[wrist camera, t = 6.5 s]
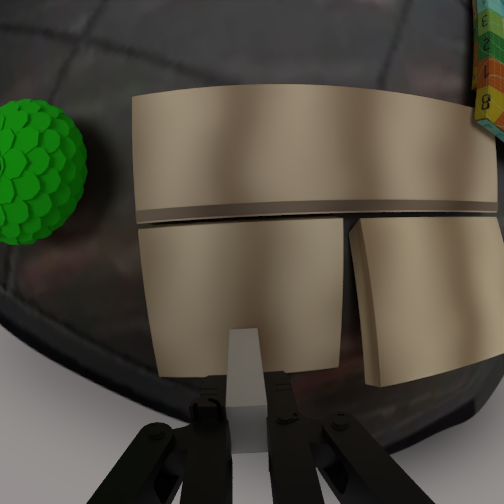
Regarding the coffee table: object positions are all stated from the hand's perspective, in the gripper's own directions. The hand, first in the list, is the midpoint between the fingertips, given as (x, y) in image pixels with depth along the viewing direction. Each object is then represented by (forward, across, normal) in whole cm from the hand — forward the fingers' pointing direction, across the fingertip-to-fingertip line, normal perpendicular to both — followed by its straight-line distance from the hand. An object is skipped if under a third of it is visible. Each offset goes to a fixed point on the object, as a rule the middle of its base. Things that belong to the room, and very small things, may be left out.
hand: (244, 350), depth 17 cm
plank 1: (+3, 0, +2) cm, 4 cm away
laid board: (+3, +6, +11) cm, 13 cm away
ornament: (+4, -12, +11) cm, 17 cm away
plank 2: (+1, +12, +2) cm, 12 cm away
